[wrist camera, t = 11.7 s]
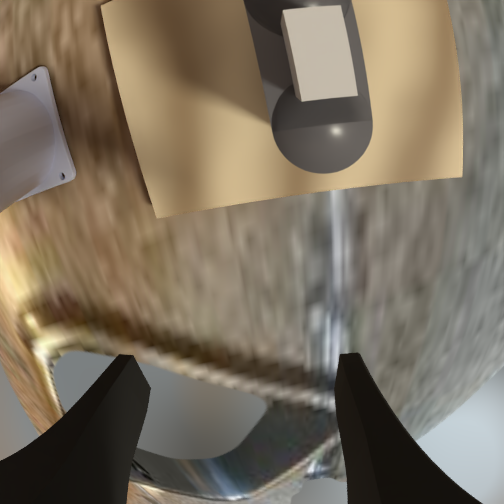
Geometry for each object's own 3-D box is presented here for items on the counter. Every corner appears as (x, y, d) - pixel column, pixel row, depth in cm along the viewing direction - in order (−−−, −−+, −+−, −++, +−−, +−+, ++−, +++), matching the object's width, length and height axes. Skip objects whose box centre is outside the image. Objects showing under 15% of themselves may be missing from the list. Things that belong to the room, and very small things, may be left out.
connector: (277, 142, 15) (283, 204, 8) (247, 0, 11) (223, -65, 5) (340, 134, 15) (397, 188, 8) (313, -8, 11) (350, -76, 4)
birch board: (163, 210, 19) (156, 218, 18) (110, 8, 12) (100, 5, 11) (452, 170, 16) (462, 177, 15) (426, -34, 10) (435, -39, 9)
